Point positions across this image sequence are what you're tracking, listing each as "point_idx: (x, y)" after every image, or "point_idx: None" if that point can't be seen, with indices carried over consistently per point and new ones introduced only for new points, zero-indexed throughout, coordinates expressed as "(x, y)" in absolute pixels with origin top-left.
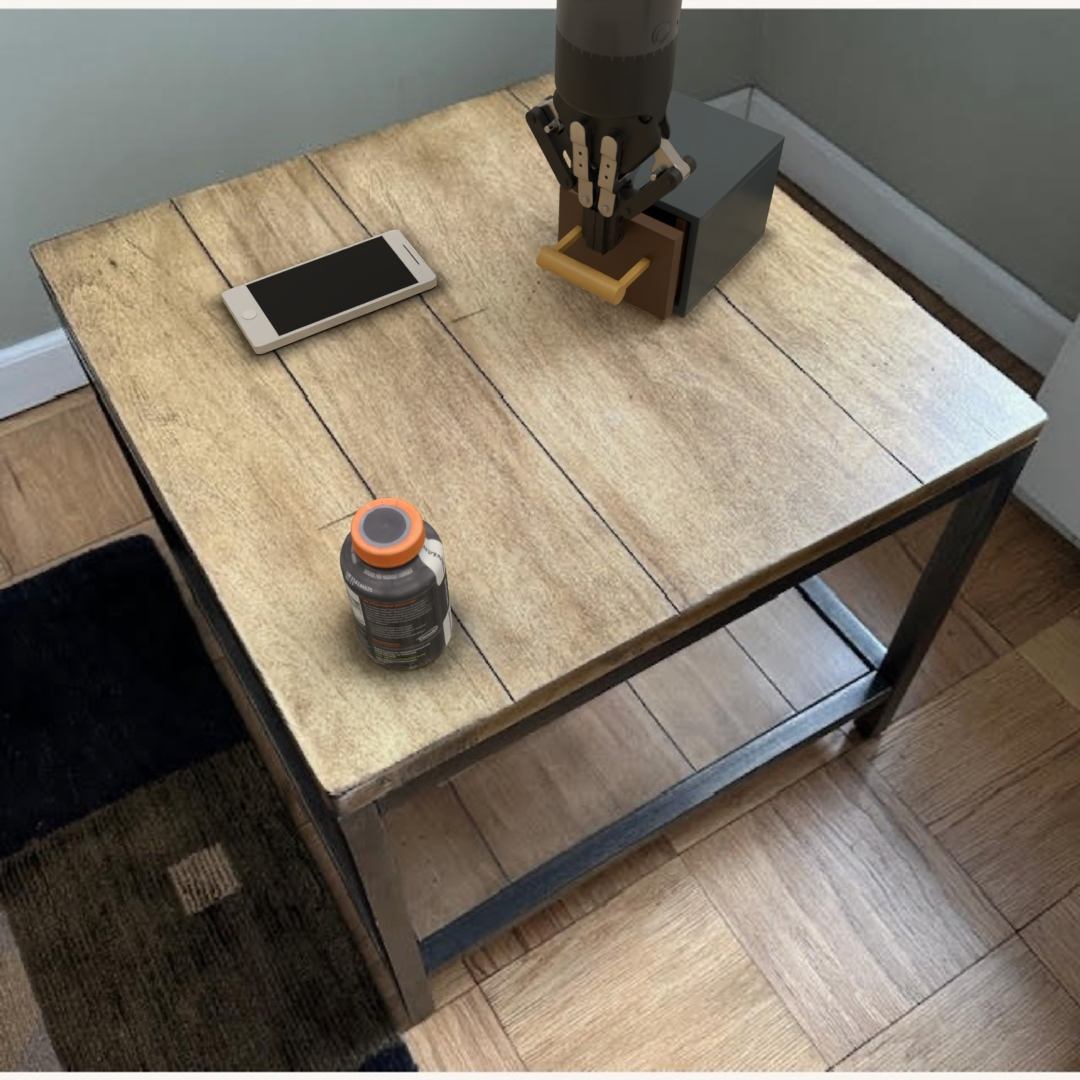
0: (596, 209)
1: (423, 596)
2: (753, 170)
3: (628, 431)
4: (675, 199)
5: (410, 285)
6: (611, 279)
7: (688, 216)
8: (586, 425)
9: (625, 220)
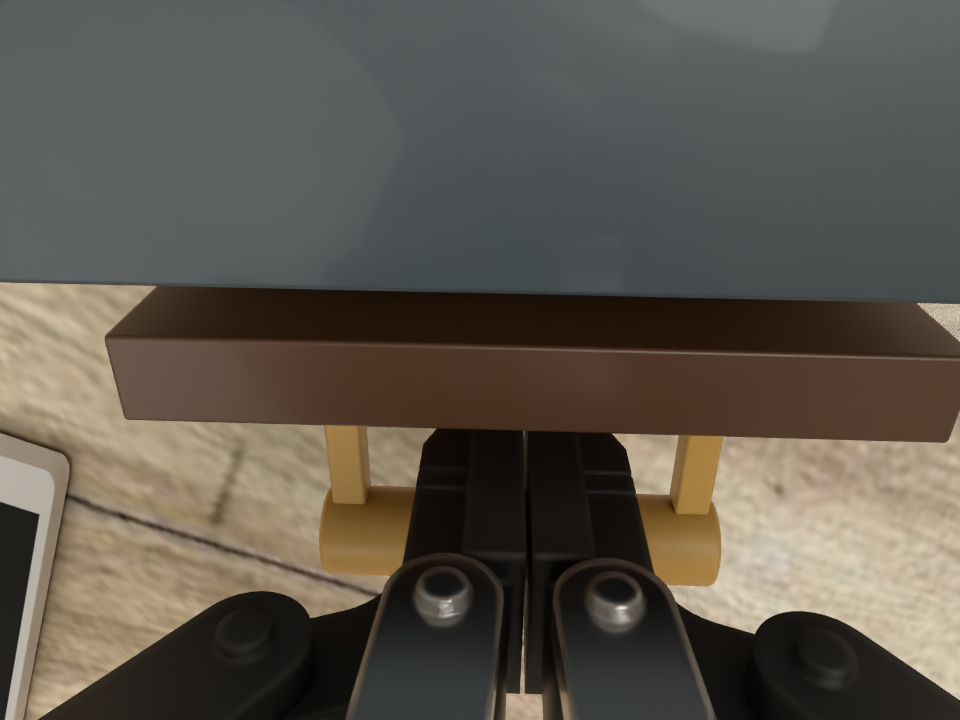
0: (510, 676)
1: None
2: None
3: (821, 572)
4: (880, 236)
5: (35, 534)
6: (665, 560)
7: None
8: (716, 604)
9: (641, 519)
